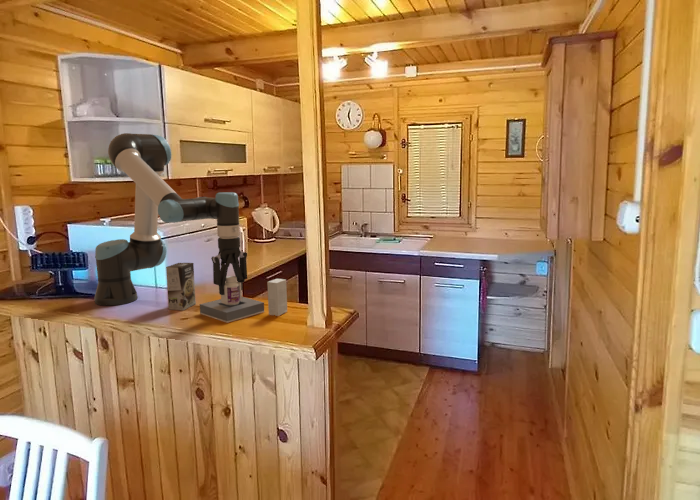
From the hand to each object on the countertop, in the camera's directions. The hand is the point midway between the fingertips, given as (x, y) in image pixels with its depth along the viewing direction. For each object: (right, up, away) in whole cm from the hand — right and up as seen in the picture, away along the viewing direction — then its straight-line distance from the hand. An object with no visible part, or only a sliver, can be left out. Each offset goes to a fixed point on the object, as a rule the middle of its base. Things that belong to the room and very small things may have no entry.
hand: (231, 301), depth 175 cm
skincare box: (+16, -4, 0) cm, 17 cm away
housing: (0, -4, +1) cm, 4 cm away
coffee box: (-21, -3, +9) cm, 23 cm away
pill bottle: (0, -1, 0) cm, 1 cm away
